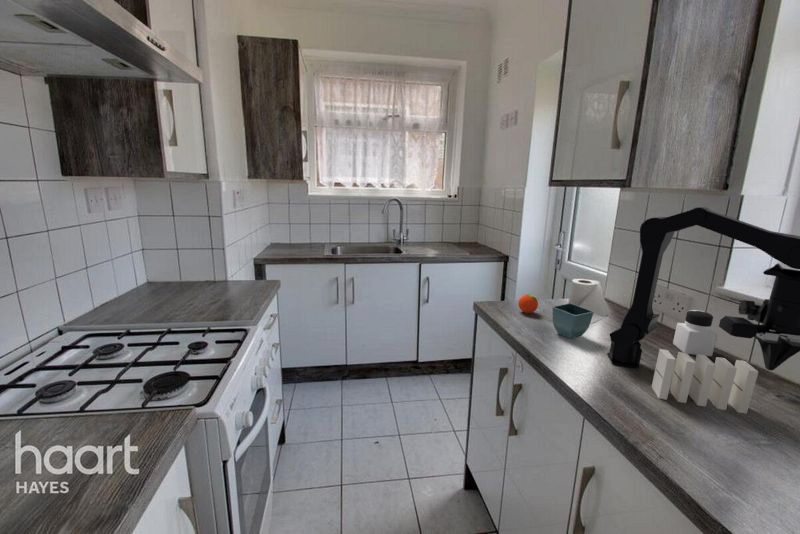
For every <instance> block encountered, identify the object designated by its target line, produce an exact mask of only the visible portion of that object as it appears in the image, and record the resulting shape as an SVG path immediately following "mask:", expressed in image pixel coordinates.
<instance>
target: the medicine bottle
mask: <svg viewBox="0 0 800 534" xmlns="http://www.w3.org/2000/svg"><path fill="white" fill-rule="evenodd" d="M713 320H714V316H713V315H712V314H711V313H709V312H706V311H703V310H699V309H691V310H688V311H686V315H685V320H684V322H677V324H676V328H675V332H674V337H673V341H672V344H673V345H674V346H675V347H676V348H677V349H679V351H680V352H684V353H687V354H688V355H693V356H697V354H698V355H705V356H706V357H713V354H714V350H715V345H716V344H717V338H718V333H717V332H715V331H714V330H712V329H711V328H712V325H713Z"/></svg>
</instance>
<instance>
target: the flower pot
mask: <svg viewBox="0 0 800 534" xmlns="http://www.w3.org/2000/svg"><path fill="white" fill-rule="evenodd" d="M594 313H595V312H594V311H593V310H590V309H587V308H586V307H583V306H580V305H577V304H574V303H571V302H570V303H564V304H560V305H554V306H552V323H553V326H554V330H555V331H556V333H558V335H561V336H564V337H565V338H567V339H571V340H572V339H576V338H580V337H582V336H583V335H584V334H585V333H586V332H587V330H588V329H589V328H590V325H591V322H592V318H593V317H594Z"/></svg>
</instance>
